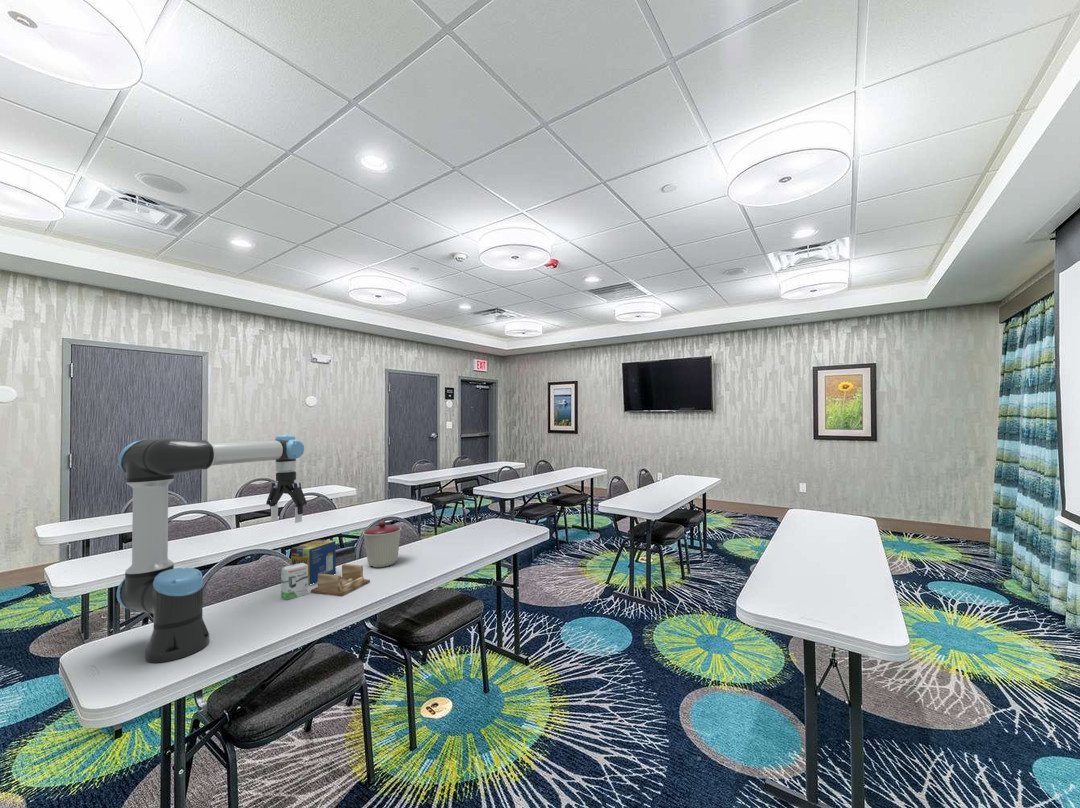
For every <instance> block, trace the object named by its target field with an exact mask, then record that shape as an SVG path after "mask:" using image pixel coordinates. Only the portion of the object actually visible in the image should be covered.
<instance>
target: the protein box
mask: <svg viewBox="0 0 1080 808" xmlns="http://www.w3.org/2000/svg"><path fill="white" fill-rule="evenodd" d="M336 546H337V545H336V540H330V539H329V540H328V539H316V540H315V539H314V540H313V541H310V542H306V543H303V544H300V545H297V546H294V547H291V548H290V566H291V565H295V564H300V563H305V564H307V565H308V585H310V584H312V585H314V584H316V582H317V583H318V575H319V574H330V575H334V574H336V575H337V572H336V570H337V568H336V567H337V566H336V565H337V563H336V562H337V557H336V556H337V555H336V554H337V553H336V552H337V551H336ZM313 583H314V584H313ZM310 586H311V585H310Z"/></svg>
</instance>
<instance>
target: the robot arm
mask: <svg viewBox="0 0 1080 808" xmlns="http://www.w3.org/2000/svg"><path fill="white" fill-rule="evenodd" d="M304 452H305V445H304V443H303V441H301V440H299V439H296V436H295V435H293V434H292V435H291V434H288V435H276V436H275V439H274V440H254V441H251V440H250V441H230V442H211V441H209V440H206V439H205V440H199V439H198V440H195V439H193V440H192V439H183V438H146V439H145V438H144V439H141V440H136V441H134V442H131V443H129V444H128V445H126V447H124V448H123V449H122V450H121V452H120V454H119V455H118V466H119V468H120V470H121V471H122V472H123V473H125V476H126V478H125V480H126V481H125V482H126V484H127V485H128V486H130V487H131V488H132V522H131V523H132V525H131V527H132V529H131V530H132V535H131V536H132V537H131V539H132V540H131V547H132V548H131V565H129V567H128V568H127V569H125V571H124V578H123V579H122V581H121V582H120V583H119V585H118V587H117V590H116V599H117V602H118V603H119V604H120V605H121V607H123V608H125V609H127V610H130V611H131V612H137V613H140V612H141V613H147V614H148V613H149V614H153V626H152V627H153V629H152V633H151V636H150V638H149V641H148V643H147V647H146V649H145V652H144V653H145V654H144V655H145V657H144V660H145V661H146V662H148V663H154V664H155V663H165V662H166V663H167V662H171V661H175V660H178V659H181V658H185V657H188V656H191V655H193V654H195V653H198V652H199V651H201V650H203V649H205V648H206V647H207V646H208V645H209V643H210V633H209V631H208V627H207V625H206V623H205V621H204V618H203V597H204V596H203V595H204V591H203V590H204V589H203V588H204V580H203V579H204V578H203V573H202V571H201V570H199V569H197V568H195V567H184V568H183V567H176V568H175V564H174V562H173V561H172V560H170V559H169V555H168V554H169V553H168V551H169V550H168V546H169V538H168V536H169V535H168V534H169V485H170V484H171V483H172V482H173V481H174V480H175V475H178V474H182V473H188V472H194V471H200V470H203V471H204V470H207V469H208V470H209V468H210V467H212V466H221V465H222V466H224V465H233V464H243V463H254V462H265V461H266V462H267V461H275V471H276V473H275V481H276V482H272V483H271V488H270V490H269V491H270V492H269V495H268V497H267V499H266V503H265V504H266V505H267V506H269V507H270V508H269V509H270V523H273V522H278V521H279V504H278V502H280V499H281V498H282V496H283V495H284V494H287V495H289V496H290V498H291V499H292V501H293V502H294V504H295V507H294V523H296V524H297V523H301V522H303V512H304V511H303V508H304V507H303V506H306V505H307V504H308V502H307V500H306V498H305V495H304V492H303V489H302V485H301V482H295V481H296V480H297V472H296V469H297V459H299V458H301V457H302V456H303V455H304Z"/></svg>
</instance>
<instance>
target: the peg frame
mask: <svg viewBox="0 0 1080 808" xmlns="http://www.w3.org/2000/svg"><path fill="white" fill-rule="evenodd" d="M370 583H371V579H368V578H367V579H366V578H365V577H364V566H363V565H362V564H360V565H359V564H349V563H344V564H341V574H336V575H330V574H319V575H318V582H317V586H316V587H315V588H311V589H310V593H311V594H318V595H325V596H327V595H328V596H336V597H343V596H346V595H347V594H350V593H352V592H353V591H355V590H356V591H357V590H358V589H359V588H362V587H364V586H366V585H368V584H370Z"/></svg>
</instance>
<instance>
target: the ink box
mask: <svg viewBox="0 0 1080 808" xmlns="http://www.w3.org/2000/svg"><path fill="white" fill-rule="evenodd" d="M280 575H281V576H280V579H281V580H280V582H281V583H280V585H281V586H280V588H281V589H280V590H281V591H280V598H281V599H283V600H285V601H289V600H292V599H294V598H298V597H301V596H304V595H308V594H309V586H308V565H307V564H305V563H300V564H295V565H291V564H290V565H286V566H284V567H283V566H282V568H281V574H280Z"/></svg>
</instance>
